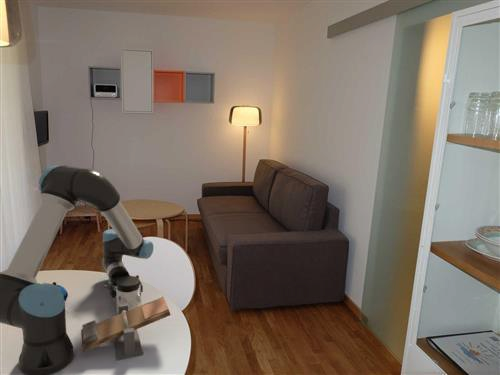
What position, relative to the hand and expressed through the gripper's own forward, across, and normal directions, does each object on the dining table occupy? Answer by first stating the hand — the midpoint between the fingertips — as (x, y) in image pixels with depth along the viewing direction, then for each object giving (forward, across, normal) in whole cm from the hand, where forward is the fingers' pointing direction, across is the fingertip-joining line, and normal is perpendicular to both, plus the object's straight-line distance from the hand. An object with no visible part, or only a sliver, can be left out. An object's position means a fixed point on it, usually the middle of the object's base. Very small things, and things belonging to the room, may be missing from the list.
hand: (132, 300), depth 147 cm
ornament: (-21, +24, -8) cm, 33 cm away
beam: (+12, +5, 0) cm, 13 cm away
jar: (-5, 0, -7) cm, 9 cm away
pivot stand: (+12, +5, -7) cm, 15 cm away
